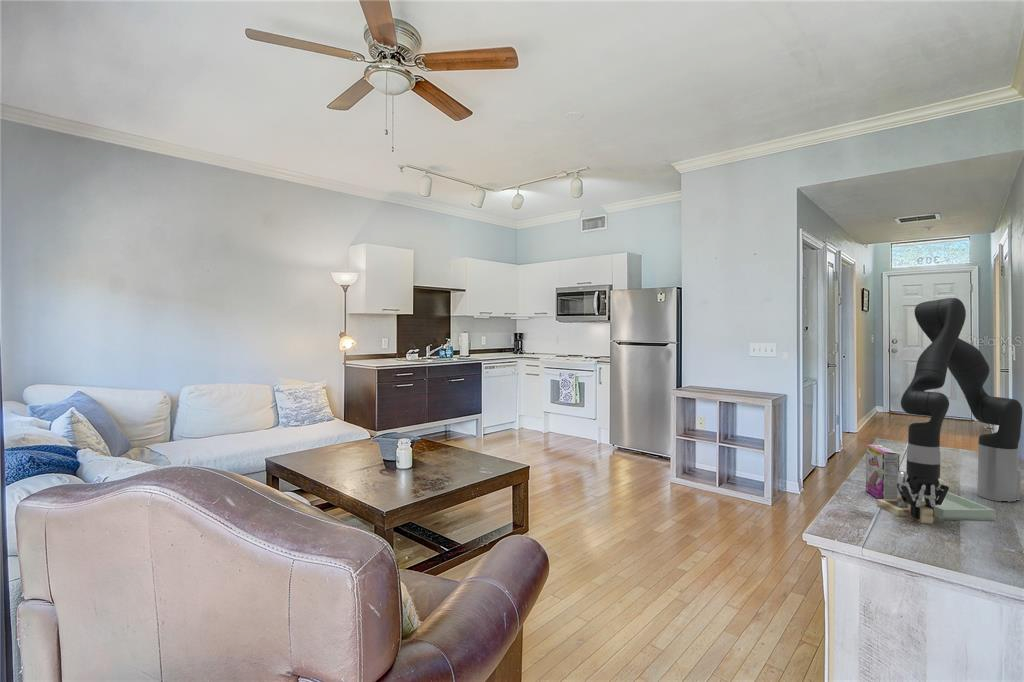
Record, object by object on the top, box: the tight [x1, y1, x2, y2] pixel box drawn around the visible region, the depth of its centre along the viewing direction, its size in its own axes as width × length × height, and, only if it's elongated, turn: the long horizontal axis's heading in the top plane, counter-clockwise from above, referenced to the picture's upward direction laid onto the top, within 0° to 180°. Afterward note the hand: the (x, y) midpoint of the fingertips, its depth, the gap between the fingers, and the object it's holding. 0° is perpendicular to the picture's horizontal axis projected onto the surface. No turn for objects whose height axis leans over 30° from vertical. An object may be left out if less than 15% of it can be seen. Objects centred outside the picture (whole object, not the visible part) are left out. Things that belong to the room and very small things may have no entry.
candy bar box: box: [865, 444, 900, 500], centre depth 162 cm, size 11×5×16 cm, turn 168°
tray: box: [909, 488, 996, 521], centre depth 153 cm, size 15×20×3 cm
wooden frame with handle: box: [876, 498, 934, 524], centre depth 148 cm, size 14×9×4 cm, turn 179°
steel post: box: [897, 470, 908, 508], centre depth 150 cm, size 2×2×12 cm
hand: (921, 518), depth 143 cm, fingers closed on wooden frame with handle, 3 cm apart
